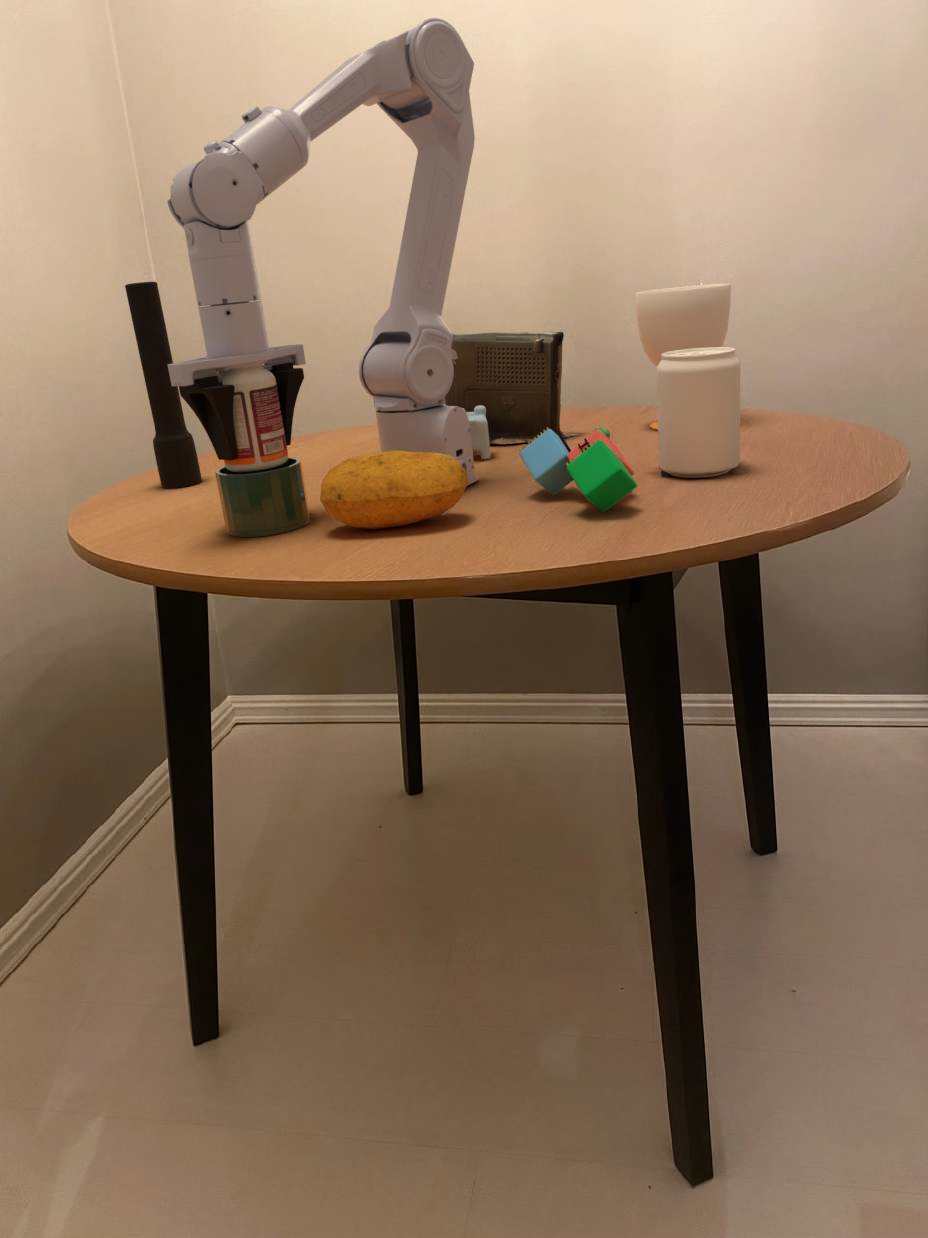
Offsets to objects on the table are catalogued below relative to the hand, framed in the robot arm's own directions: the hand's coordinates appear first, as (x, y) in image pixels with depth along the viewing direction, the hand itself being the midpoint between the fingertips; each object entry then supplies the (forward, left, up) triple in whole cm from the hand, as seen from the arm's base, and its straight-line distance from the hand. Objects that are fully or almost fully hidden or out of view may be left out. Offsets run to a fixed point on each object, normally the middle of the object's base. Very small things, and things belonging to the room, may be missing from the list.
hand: (255, 451), depth 91 cm
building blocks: (-28, -12, -8) cm, 31 cm away
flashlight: (+27, -16, -8) cm, 32 cm away
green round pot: (0, 0, -7) cm, 7 cm away
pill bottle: (0, 0, -2) cm, 2 cm away
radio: (-2, -44, -8) cm, 45 cm away
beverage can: (-36, -26, -8) cm, 45 cm away
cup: (-27, -53, -8) cm, 60 cm away
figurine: (-6, -33, -8) cm, 34 cm away
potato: (-14, -2, -8) cm, 16 cm away
